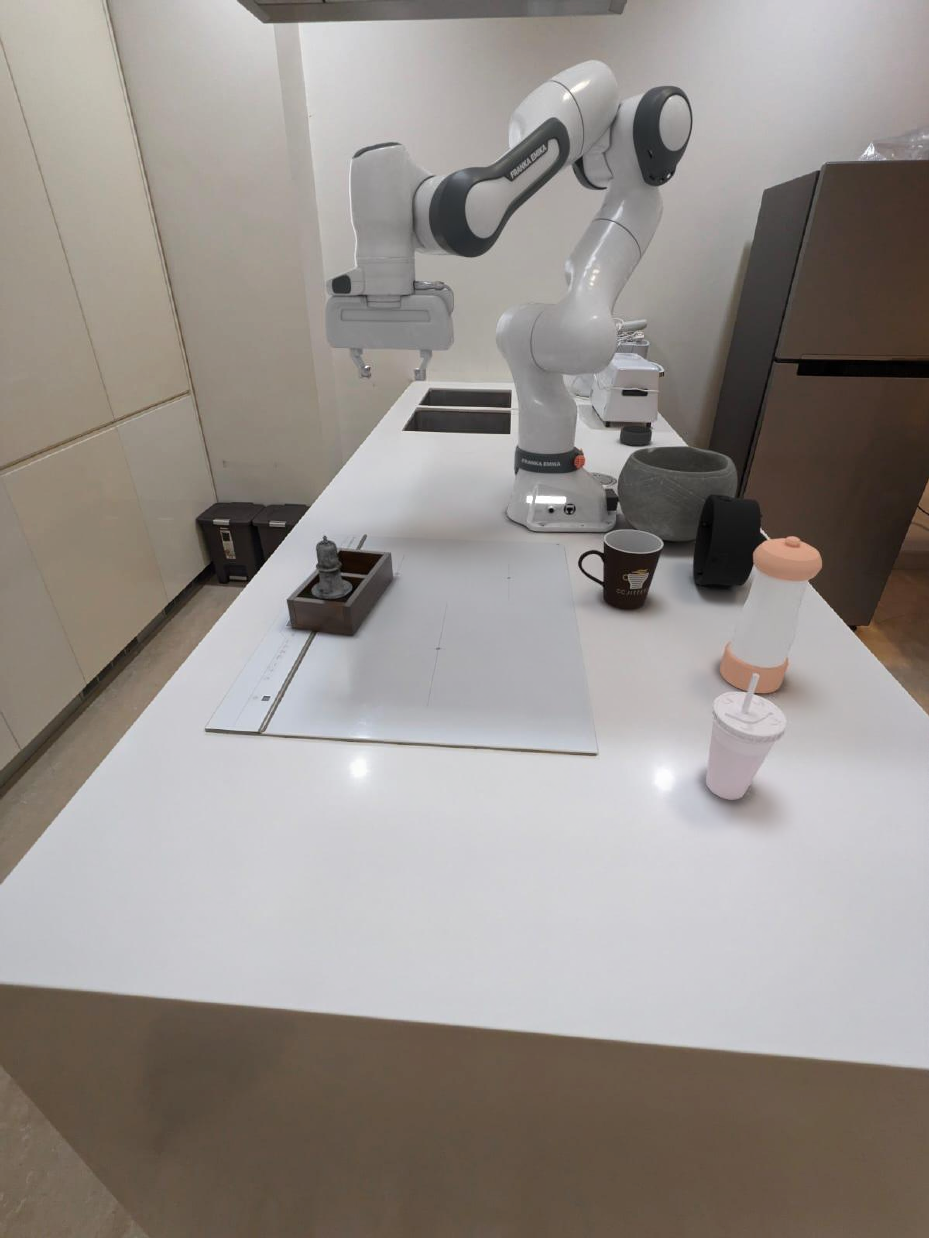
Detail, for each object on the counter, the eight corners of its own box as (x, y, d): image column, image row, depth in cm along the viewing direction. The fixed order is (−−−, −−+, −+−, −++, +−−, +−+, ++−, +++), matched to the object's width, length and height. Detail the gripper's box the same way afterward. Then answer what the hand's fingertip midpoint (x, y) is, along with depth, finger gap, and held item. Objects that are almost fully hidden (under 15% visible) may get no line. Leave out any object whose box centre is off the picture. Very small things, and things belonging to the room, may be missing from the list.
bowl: (664, 566, 101) (681, 483, 93) (589, 525, 117) (598, 451, 109) (748, 543, 109) (770, 464, 101) (667, 507, 125) (681, 437, 117)
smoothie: (681, 764, 61) (711, 655, 54) (740, 760, 62) (777, 652, 54) (708, 812, 56) (745, 699, 48) (772, 808, 56) (818, 695, 49)
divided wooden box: (393, 578, 97) (391, 552, 95) (353, 635, 82) (349, 606, 80) (340, 572, 99) (337, 547, 97) (291, 628, 84) (286, 599, 82)
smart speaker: (654, 441, 171) (656, 427, 169) (644, 448, 165) (647, 434, 163) (624, 437, 175) (626, 423, 173) (614, 444, 169) (616, 430, 167)
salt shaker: (346, 621, 84) (336, 545, 77) (308, 617, 85) (295, 542, 78) (360, 601, 89) (352, 528, 82) (324, 598, 90) (313, 525, 83)
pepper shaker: (776, 700, 70) (828, 557, 60) (713, 681, 73) (753, 542, 63) (784, 670, 75) (833, 533, 65) (725, 653, 79) (763, 520, 68)
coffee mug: (653, 591, 93) (664, 533, 88) (650, 617, 86) (661, 557, 81) (581, 580, 97) (588, 524, 91) (572, 605, 90) (579, 545, 84)
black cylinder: (794, 519, 81) (719, 513, 83) (766, 608, 89) (697, 600, 91) (773, 486, 93) (707, 481, 95) (750, 567, 101) (689, 561, 103)
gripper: (458, 280, 88) (459, 378, 95) (332, 280, 91) (342, 374, 99) (448, 282, 82) (450, 385, 90) (314, 281, 86) (326, 380, 93)
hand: (392, 379), depth 94 cm, fingers open, 8 cm apart
